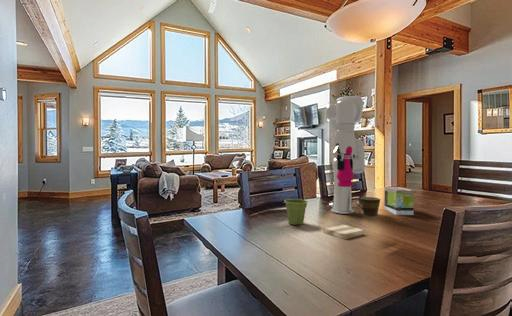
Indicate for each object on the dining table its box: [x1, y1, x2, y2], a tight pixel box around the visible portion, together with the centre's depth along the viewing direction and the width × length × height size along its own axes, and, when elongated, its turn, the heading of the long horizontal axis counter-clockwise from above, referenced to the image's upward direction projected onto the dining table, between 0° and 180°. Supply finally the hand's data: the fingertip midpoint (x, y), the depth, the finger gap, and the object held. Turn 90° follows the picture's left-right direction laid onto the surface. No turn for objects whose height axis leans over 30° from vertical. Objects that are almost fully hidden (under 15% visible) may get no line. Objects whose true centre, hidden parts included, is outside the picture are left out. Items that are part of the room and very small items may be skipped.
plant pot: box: [284, 198, 309, 226], centre depth 141 cm, size 12×12×11 cm
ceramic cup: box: [354, 196, 381, 217], centre depth 155 cm, size 13×10×10 cm
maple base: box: [322, 223, 365, 240], centre depth 123 cm, size 12×12×2 cm
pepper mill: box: [337, 146, 355, 188], centre depth 125 cm, size 7×7×20 cm
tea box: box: [384, 186, 415, 216], centre depth 161 cm, size 15×10×15 cm
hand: (345, 169), depth 125 cm, fingers closed on pepper mill, 5 cm apart
